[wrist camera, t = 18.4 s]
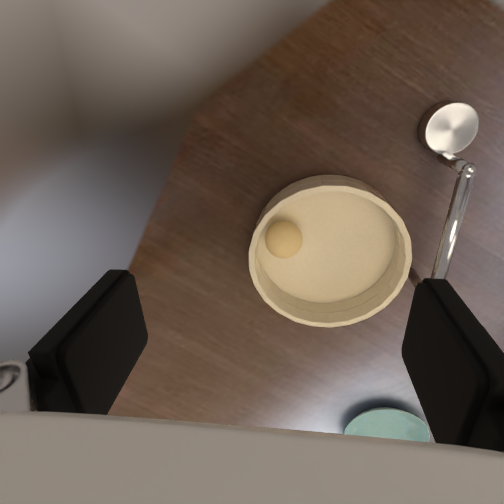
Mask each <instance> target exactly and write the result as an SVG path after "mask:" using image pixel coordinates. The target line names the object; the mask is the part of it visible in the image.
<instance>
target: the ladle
mask: <svg viewBox="0 0 504 504" xmlns="http://www.w3.org/2000/svg"><path fill="white" fill-rule="evenodd" d="M478 127H479V117H478V114H477V112H476V110H475V109H474V108H473V107H472V106H471V105H469V104H467V103H463V102H452V101H447V102H442V103H439V104H437V105H435V106H433V107H432V108H431V109H429V110H428V111H427V112H426V113H425V115H424V116H423V118H422V119H421V122H420V124H419V129H418V135H419V139H420V142H421V143H422V145H423V146H424V147H426V148H427V149H429V150H431V151H433V152H435V153H438V154H439V155H438V156H437V160H438V162H440V163H442V164H444V165H446V166H448V167H450V168H452V169H454V170H455V171H457V172H459V173H458V176H457V180H456V184H455V187H454V191H453V195H452V199H451V203H450V206H449V210H448V214H447V218H446V222H445V225H444V229H443V233H442V237H441V241H440V244H439V248H438V252H437V256H436V260H435V264H434V267H433V271H432V275H431V278H435V279H446V277H447V273H448V270H449V266H450V263H451V259H452V256H453V252H454V249H455V245H456V242H457V238H458V235H459V231H460V228H461V224H462V221H463V217H464V214H465V210H466V207H467V203H468V200H469V196H470V193H471V189H472V186H473V182H474V179H475V175H476V174H475V170H476V166H475V165H474V164H473V163H471V162H468V161H466V160H464V159H461V158H459V157H456V156H454V155H452V154H454V153H457V152H459V151H461V150H463V149H464V148H465V147H467V146H468V145H469V144H470V143H471V142H472V140H473V139H474V137H475V136H476V134H477V131H478ZM408 277H409V279H410V281H411V282H412V284H413V286H414V287H415V288H416V285H417V283H422V280H421V278H420V277H419V275H418V274H417V272H416V271H415V270H414V269H410V270H409V274H408Z"/></svg>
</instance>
